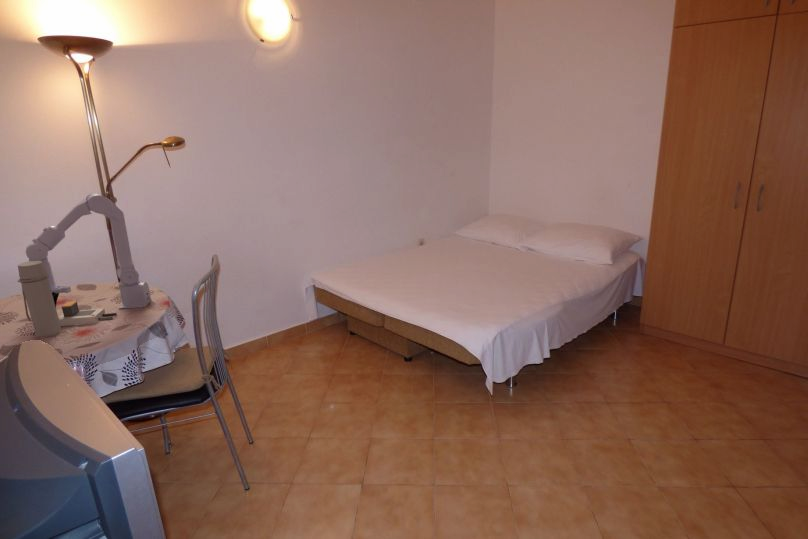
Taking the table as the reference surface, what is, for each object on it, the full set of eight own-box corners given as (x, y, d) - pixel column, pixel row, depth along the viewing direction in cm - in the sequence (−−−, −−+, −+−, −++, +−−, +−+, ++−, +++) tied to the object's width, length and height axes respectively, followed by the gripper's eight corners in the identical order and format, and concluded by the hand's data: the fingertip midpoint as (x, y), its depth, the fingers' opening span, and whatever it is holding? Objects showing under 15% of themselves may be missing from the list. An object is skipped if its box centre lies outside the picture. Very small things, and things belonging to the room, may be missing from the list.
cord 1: (113, 318, 176) (112, 315, 176) (112, 319, 175) (111, 316, 175) (98, 319, 175) (97, 317, 175) (97, 320, 174) (96, 318, 174)
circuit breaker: (105, 314, 180) (104, 307, 179) (96, 323, 172) (94, 316, 172) (67, 317, 178) (65, 311, 177) (56, 326, 171) (54, 319, 170)
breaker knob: (79, 311, 177) (76, 301, 176) (73, 315, 173) (70, 305, 172) (70, 311, 176) (67, 301, 175) (64, 316, 172) (61, 306, 171)
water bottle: (67, 328, 168) (49, 259, 161) (52, 338, 161) (33, 266, 153) (40, 329, 168) (21, 260, 161) (24, 339, 161) (3, 267, 153)
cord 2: (116, 315, 179) (116, 312, 179) (115, 316, 178) (115, 313, 178) (102, 316, 179) (101, 313, 178) (101, 317, 178) (100, 314, 177)
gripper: (71, 271, 174) (79, 307, 178) (26, 275, 172) (36, 310, 176) (61, 277, 168) (70, 314, 172) (15, 281, 165) (25, 317, 169)
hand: (52, 312), depth 173 cm, fingers closed
